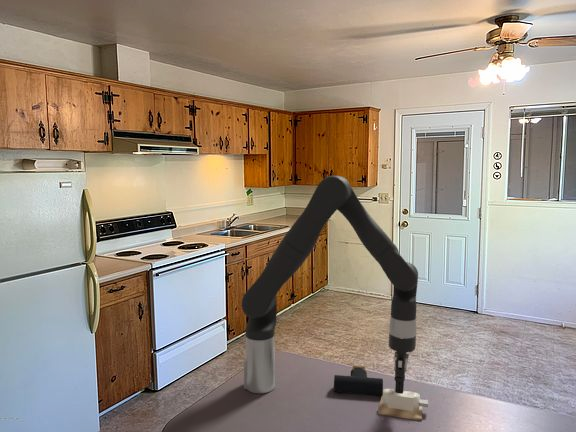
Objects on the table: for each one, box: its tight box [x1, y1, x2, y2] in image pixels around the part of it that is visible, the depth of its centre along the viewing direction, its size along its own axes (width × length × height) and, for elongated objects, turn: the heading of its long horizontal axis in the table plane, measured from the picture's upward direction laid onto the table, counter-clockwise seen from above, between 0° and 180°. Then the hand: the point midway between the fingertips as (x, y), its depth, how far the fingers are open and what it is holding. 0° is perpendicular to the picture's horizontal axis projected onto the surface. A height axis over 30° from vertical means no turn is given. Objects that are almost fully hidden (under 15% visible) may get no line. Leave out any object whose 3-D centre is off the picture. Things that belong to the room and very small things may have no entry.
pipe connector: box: [333, 365, 384, 396], centre depth 144 cm, size 12×5×15 cm
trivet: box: [377, 395, 423, 422], centre depth 131 cm, size 12×10×1 cm
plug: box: [383, 388, 429, 411], centre depth 131 cm, size 13×4×4 cm, turn 72°
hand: (400, 385), depth 131 cm, fingers open, 8 cm apart
